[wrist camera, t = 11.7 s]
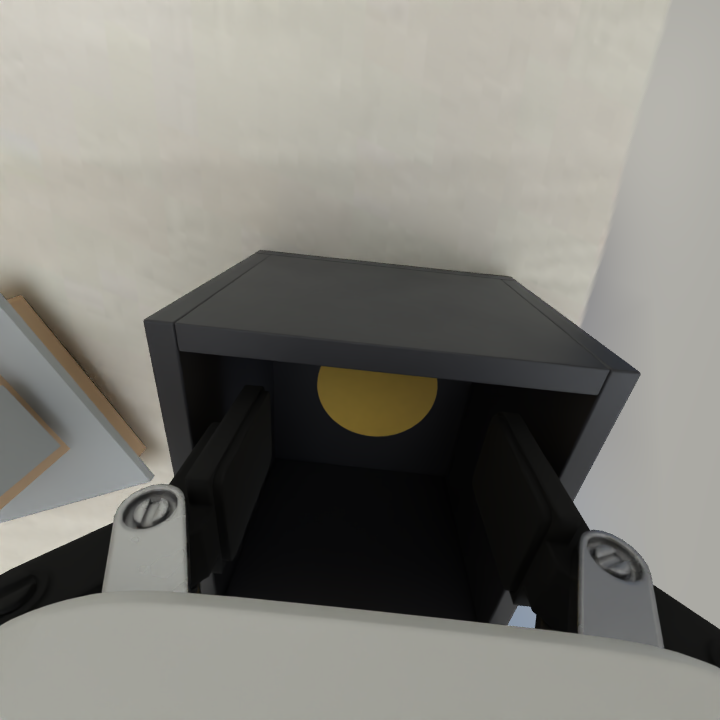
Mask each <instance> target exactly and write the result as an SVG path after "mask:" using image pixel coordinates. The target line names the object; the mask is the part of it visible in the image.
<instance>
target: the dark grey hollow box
mask: <svg viewBox="0 0 720 720" xmlns="http://www.w3.org/2000/svg"><path fill="white" fill-rule="evenodd" d="M144 327H145V332H146V337H147V342H148V347H149V352H150V357H151V362H152V367H153V372H154V377H155V382H156V387H157V392H158V397H159V402H160V407H161V412H162V417H163V422H164V427H165V432H166V437H167V442H168V447H169V452H170V457H171V462H172V467H173V472H174V476H175V475H176V473H177V472H178V471H179V469H180V468H181V466H182V465H183V463H184V462H185V460H186V459H187V457H188V456H189V455H190V453H191V452H192V450H193V449H194V447H195V446H196V444H197V443H198V441H199V440H200V439H201V437H202V436H203V434H204V433H205V431H206V430H207V428H208V427H209V426H210V425H211V423H213V422H220V423H221V421H222V419H223V418H224V416H225V415H226V413H227V412H228V410H229V409H230V407H231V406H232V404H233V403H234V401H235V399H236V398H237V396H238V395H239V393H240V392H241V390H242V389H243V387H244V386H245V385H256V386H263V387H264V389H265V391H269V392H270V405H271V443H272V458H271V463H270V467H269V469H268V472H267V475H266V477H265V480H264V482H263V485H262V488H261V490H260V493H259V496H258V498H257V501H256V503H255V506H254V509H253V511H252V514H251V517H250V519H249V522H248V524H247V527H246V530H245V532H244V535H243V538H242V540H241V543H240V545H239V548H238V551H237V553H236V556H235V558H234V560H233V561H227V562H226V565H225V567H224V570H223V572H222V574H220V573H210V576H209V577H208V578H206V579H204V580H203V581H201V582H200V585H201V594H207V595H219V596H231V597H242V598H252V599H262V600H272V601H282V602H291V603H301V604H311V605H321V606H331V607H341V608H350V609H360V610H369V611H379V612H388V613H398V614H407V615H416V616H425V617H435V618H444V619H453V620H462V621H471V622H480V623H489V624H498V625H508V623H509V621H510V619H511V618H512V616H513V613H514V612H515V610H516V608H517V606H518V605H513V602H512V599H511V596H510V593H509V591H506V590H505V589H504V588H503V586H502V584H501V580H500V577H499V574H498V570H497V567H496V564H495V561H494V557H493V554H492V551H491V547H490V544H489V541H488V537H487V534H486V531H485V527H484V524H483V521H482V518H481V514H480V511H479V508H478V504H477V501H476V498H475V494H474V491H473V488H472V476H473V472H474V469H475V466H476V463H477V460H478V457H479V454H480V451H481V448H482V445H483V442H484V439H485V436H486V433H487V430H488V427H489V424H490V421H491V418H492V417H493V416H494V415H495V416H497V415H498V413H499V412H509V413H517V414H519V415H520V416H521V417H522V419H523V421H524V422H525V424H526V426H527V427H528V429H529V431H530V432H531V434H532V436H533V437H534V439H535V441H536V442H537V444H538V446H539V447H540V449H541V451H542V452H543V454H544V456H545V457H546V459H547V460H548V462H549V463H550V465H551V466H552V468H553V470H554V471H555V473H556V475H557V476H558V478H559V480H560V481H561V483H562V485H563V486H564V488H565V490H566V491H567V493H568V495H569V496H570V498H571V500H572V501H574V499H575V497H576V495H577V493H578V491H579V489H580V488H581V486H582V484H583V482H584V480H585V478H586V476H587V474H588V472H589V471H590V469H591V467H592V465H593V463H594V461H595V459H596V457H597V456H598V454H599V452H600V450H601V448H602V446H603V444H604V442H605V441H606V438H607V437H608V435H609V433H610V431H611V429H612V427H613V426H614V424H615V422H616V420H617V418H618V416H619V414H620V412H621V410H622V409H623V407H624V405H625V403H626V401H627V399H628V397H629V395H630V394H631V392H632V390H633V388H634V386H635V384H636V382H637V380H638V378H639V376H640V372H639V371H638V370H636V369H635V368H633V367H632V366H631V365H629V364H628V363H627V362H625V361H624V360H622V359H621V358H620V357H619V356H617V355H616V354H614V353H613V352H612V351H610V350H609V349H607V348H606V347H605V346H604V345H602V344H601V343H600V342H598V341H597V340H596V339H594V338H593V337H592V336H590V335H589V334H587V333H586V332H585V331H583V330H582V329H581V328H579V327H578V326H577V325H575V324H574V323H573V322H571V321H570V320H568V319H567V318H566V317H564V316H563V315H562V314H560V313H559V312H558V311H556V310H555V309H554V308H552V307H551V306H550V305H548V304H547V303H545V302H544V301H543V300H541V299H540V298H539V297H537V296H536V295H535V294H533V293H532V292H531V291H529V290H528V289H527V288H525V287H524V286H522V285H521V284H520V283H518V282H517V281H516V280H515V279H513V278H512V277H507V276H498V275H488V274H479V273H470V272H460V271H451V270H442V269H432V268H423V267H414V266H404V265H395V264H385V263H376V262H367V261H357V260H348V259H339V258H329V257H320V256H311V255H301V254H292V253H283V252H273V251H264V250H260V251H258V252H256V253H255V254H253V255H251V256H250V257H248V258H246V259H245V260H243V261H241V262H240V263H238V264H236V265H235V266H233V267H231V268H230V269H228V270H226V271H225V272H223V273H221V274H220V275H218V276H216V277H215V278H213V279H211V280H210V281H208V282H206V283H205V284H203V285H201V286H199V287H198V288H196V289H194V290H193V291H191V292H189V293H188V294H186V295H184V296H183V297H181V298H179V299H178V300H176V301H174V302H173V303H171V304H169V305H168V306H166V307H164V308H163V309H161V310H159V311H158V312H156V313H154V314H153V315H151V316H149V317H148V318H146V319H144ZM321 366H325V367H335V368H344V369H354V370H363V371H372V372H382V373H391V374H401V375H410V376H419V377H429V378H437V395H436V398H435V401H434V403H433V406H432V408H431V409H430V411H429V412H428V414H427V415H426V416H425V417H424V418H423V419H422V420H421V421H420V422H419V423H417V424H416V425H415V426H413V427H412V428H410V429H408V430H406V431H403V432H401V433H398V434H394V435H389V436H367V435H362V434H358V433H355V432H352V431H350V430H348V429H346V428H344V427H342V426H341V425H339V424H338V423H337V422H335V421H334V420H333V419H332V418H331V417H330V416H329V415H328V413H327V412H326V411H325V409H324V408H323V406H322V404H321V401H320V398H319V395H318V390H317V380H318V374H319V370H320V367H321Z"/></svg>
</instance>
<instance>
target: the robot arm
mask: <svg viewBox="0 0 720 720" xmlns="http://www.w3.org/2000/svg"><path fill="white" fill-rule="evenodd" d="M271 458H272V443H271V405H270V392H269V391H265V389H264V387H263V386H256V385H245V386H244V387H243V389H242V390H241V392H240V393H239V395H238V396H237V398H236V399H235V401H234V403H233V404H232V406H231V407H230V409H229V410H228V412H227V413H226V415H225V416H224V418H223V419H222V421H221V423H220V422H213V423H211V425H210V426H209V427H208V428H207V430H206V431H205V433H204V434H203V436H202V437H201V439H200V440H199V441H198V443H197V444H196V446H195V447H194V449H193V450H192V452H191V453H190V455H189V456H188V457H187V459H186V460H185V462H184V463H183V465H182V466H181V468H180V469H179V471H178V472H177V473H176V475H175V476H174V478H173V479H172V481H171V482H170V484H169V485H168V484H158V485H152V486H149V487H146V488H143V489H140V490H139V491H137V492H135V493H133V494H131V495H130V496H129V497H128V498H127V499H125V500H124V501H123V502H122V503H121V505H120V506H119V507H118V509H117V511H116V514H115V516H114V521H113V523H111V524H109V525H107V526H105V527H102V528H100V529H98V530H96V531H94V532H91V533H89V534H87V535H85V536H83V537H80V538H78V539H76V540H74V541H72V542H70V543H67V544H65V545H63V546H61V547H59V548H56V549H54V550H52V551H50V552H48V553H45V554H43V555H41V556H39V557H37V558H34V559H32V560H30V561H28V562H26V563H24V564H21V565H19V566H17V567H15V568H13V569H11V570H9V571H7V572H5V573H3V574H1V575H0V720H720V629H718V628H717V627H716V626H714V625H713V624H711V623H710V622H708V621H707V620H705V619H703V618H702V617H701V616H699V615H697V614H696V613H694V612H693V611H692V610H690V609H689V608H687V607H686V606H684V605H683V604H681V603H680V602H678V601H677V600H675V599H674V598H672V597H671V596H669V595H668V594H666V593H665V592H663V591H662V590H660V589H659V588H657V587H656V586H654V585H653V582H652V577H651V573H650V570H649V567H648V565H647V564H646V562H645V561H644V559H643V558H642V556H641V555H640V554H639V553H638V552H637V551H636V550H635V549H634V548H633V547H632V546H630V545H629V544H627V543H626V542H625V541H623V540H622V539H620V538H618V537H616V536H614V535H613V534H610V533H607V532H604V531H599V530H591V531H590V530H589V528H588V526H587V525H586V523H585V521H584V520H583V518H582V516H581V515H580V513H579V511H578V510H577V508H576V506H575V505H574V503H573V501H572V500H571V498H570V496H569V495H568V493H567V491H566V490H565V488H564V486H563V485H562V483H561V481H560V480H559V478H558V476H557V475H556V473H555V471H554V470H553V468H552V466H551V465H550V463H549V462H548V460H547V459H546V457H545V456H544V454H543V452H542V451H541V449H540V447H539V446H538V444H537V442H536V441H535V439H534V437H533V436H532V434H531V432H530V431H529V429H528V427H527V426H526V424H525V422H524V421H523V419H522V417H521V416H520V415H519V414H517V413H509V412H499V413H498V415H497V416H495V415H494V416H493V417H492V418H491V421H490V424H489V427H488V430H487V433H486V436H485V439H484V442H483V445H482V448H481V451H480V454H479V457H478V460H477V463H476V466H475V469H474V472H473V476H472V488H473V491H474V494H475V498H476V501H477V504H478V508H479V511H480V514H481V518H482V521H483V524H484V527H485V531H486V534H487V537H488V541H489V544H490V547H491V551H492V554H493V557H494V561H495V564H496V567H497V570H498V574H499V577H500V580H501V584H502V586H503V588H504V589H505V590H506V591H509V593H510V596H511V599H512V602H513V605H520V606H529V607H531V609H532V611H533V612H534V613H535V614H536V624H535V629H534V628H525V627H515V626H507V625H498V624H489V623H480V622H471V621H462V620H453V619H444V618H435V617H425V616H416V615H407V614H398V613H388V612H379V611H369V610H360V609H350V608H341V607H331V606H321V605H311V604H301V603H291V602H282V601H272V600H262V599H252V598H242V597H231V596H219V595H207V594H201V585H200V582H201V581H203V580H204V579H206V578H208V577H209V576H210V573H220V574H222V572H223V570H224V567H225V565H226V562H227V561H233V560H234V558H235V556H236V553H237V551H238V548H239V545H240V543H241V540H242V538H243V535H244V532H245V530H246V527H247V524H248V522H249V519H250V517H251V514H252V511H253V509H254V506H255V503H256V501H257V498H258V496H259V493H260V490H261V488H262V485H263V482H264V480H265V477H266V475H267V472H268V469H269V467H270V463H271Z"/></svg>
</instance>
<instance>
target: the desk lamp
mask: <svg viewBox="0 0 720 720" xmlns="http://www.w3.org/2000/svg"><path fill="white" fill-rule="evenodd" d="M145 449H146V447H145V446H144V444H143V443H142V442H141V441H140V439H139V438H138V437H137V436H136V435H135V433H134V432H133V431H132V430H131V428H130V427H129V426H128V425H127V424H126V422H125V421H124V420H123V419H122V417H121V416H120V415H119V414H118V413H117V411H116V410H115V409H114V408H113V406H112V405H111V404H110V403H109V402H108V400H107V399H106V398H105V397H104V395H103V394H102V393H101V392H100V391H99V389H98V388H97V387H96V386H95V384H94V383H93V382H92V381H91V380H90V378H89V377H88V376H87V375H86V373H85V372H84V371H83V370H82V369H81V367H80V366H79V365H78V364H77V362H76V361H75V360H74V359H73V358H72V356H71V355H70V354H69V353H68V351H67V350H66V349H65V348H64V347H63V345H62V344H61V343H60V342H59V340H58V339H57V338H56V337H55V336H54V334H53V333H52V332H51V331H50V329H49V328H48V327H47V326H46V325H45V323H44V322H43V321H42V320H41V318H40V317H39V316H38V315H37V314H36V312H35V311H34V310H33V309H32V307H31V306H30V305H29V304H28V303H27V301H26V300H25V299H24V298H23V296H22V295H20V296H17V297H14V298H11V299H7V300H6V299H5V298H4V296H3V295H2V294H1V293H0V523H2V522H6V521H9V520H13V519H17V518H20V517H24V516H28V515H31V514H35V513H38V512H42V511H46V510H49V509H53V508H56V507H60V506H64V505H67V504H71V503H74V502H78V501H82V500H85V499H89V498H92V497H96V496H100V495H103V494H107V493H110V492H114V491H118V490H121V489H125V488H129V487H132V486H136V485H139V484H143V483H147V482H150V481H151V480H152V479H153V477H154V474H153V473H152V472H151V471H150V470H149V468H148V467H147V466H146V465H145V464H144V463H143V461H142V460H141V459H140V458H139V456H140V455H141V454H142V453H143V452H144V451H145Z"/></svg>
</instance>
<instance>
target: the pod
mask: <svg viewBox="0 0 720 720" xmlns="http://www.w3.org/2000/svg"><path fill="white" fill-rule="evenodd" d="M317 390H318V395H319V398H320V401H321V404H322V406H323V408H324V409H325V411H326V412H327V413H328V415H329V416H330V417H331V418H332V419H333V420H334V421H335V422H337V423H338V424H339V425H341V426H342V427H344V428H346V429H348V430H350V431H352V432H355V433H358V434H362V435H367V436H389V435H394V434H398V433H401V432H403V431H406V430H408V429H410V428H412V427H413V426H415V425H416V424H417V423H419V422H420V421H421V420H422V419H423V418H424V417H425V416H426V415H427V414H428V412H429V411H430V409H431V408H432V406H433V403H434V401H435V398H436V395H437V378H429V377H419V376H410V375H401V374H391V373H382V372H372V371H363V370H354V369H344V368H335V367H325V366H321V367H320V370H319V374H318V380H317Z"/></svg>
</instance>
